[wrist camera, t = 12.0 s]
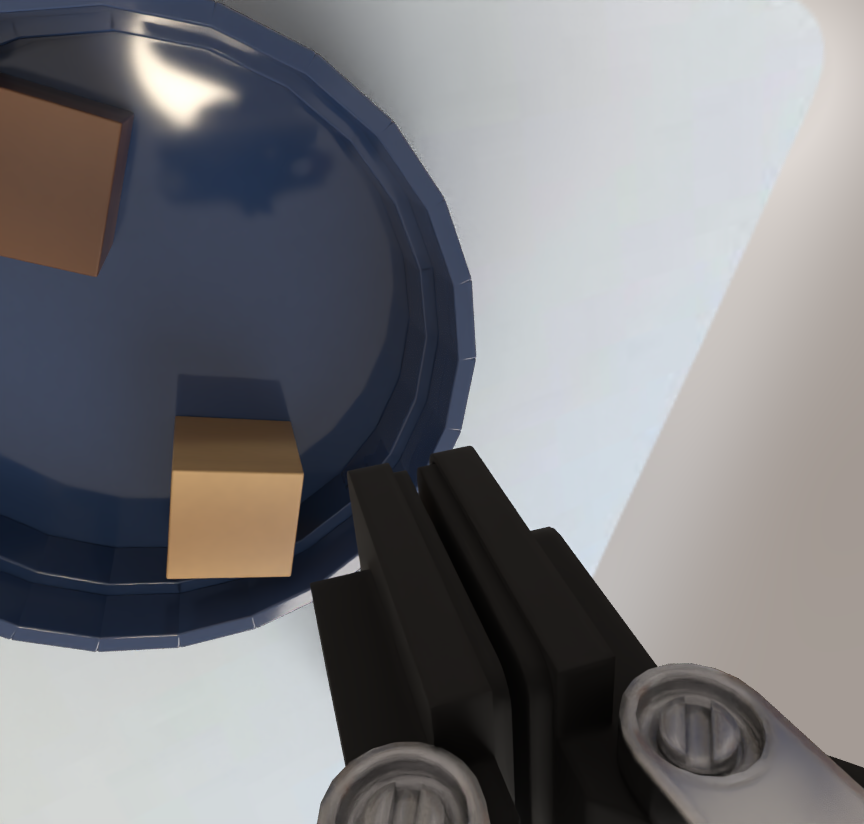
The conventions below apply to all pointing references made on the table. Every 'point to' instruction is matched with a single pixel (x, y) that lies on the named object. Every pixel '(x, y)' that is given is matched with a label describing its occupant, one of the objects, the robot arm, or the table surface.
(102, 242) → the walnut block
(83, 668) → the table surface
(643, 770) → the robot arm
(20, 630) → the bowl
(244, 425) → the maple block
